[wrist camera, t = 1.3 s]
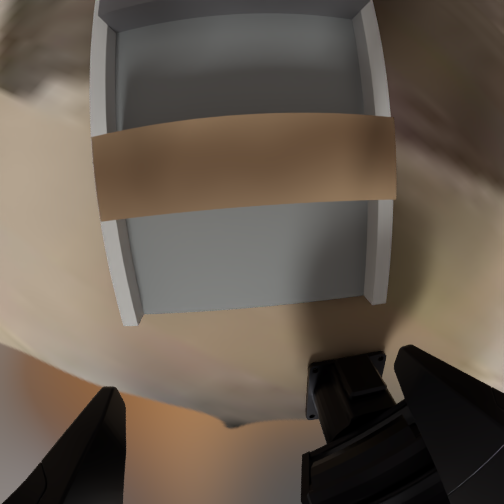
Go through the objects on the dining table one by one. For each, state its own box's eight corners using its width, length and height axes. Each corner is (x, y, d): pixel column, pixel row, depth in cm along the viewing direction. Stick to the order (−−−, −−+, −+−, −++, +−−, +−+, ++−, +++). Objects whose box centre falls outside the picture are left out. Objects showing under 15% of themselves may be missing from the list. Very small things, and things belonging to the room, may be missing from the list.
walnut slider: (364, 190, 17) (396, 199, 13) (128, 207, 17) (100, 221, 13) (361, 124, 16) (393, 117, 12) (121, 140, 15) (91, 137, 12)
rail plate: (379, 286, 20) (405, 312, 17) (125, 308, 20) (106, 338, 16) (363, -2, 14) (386, -27, 10) (100, 13, 13) (76, -10, 10)
